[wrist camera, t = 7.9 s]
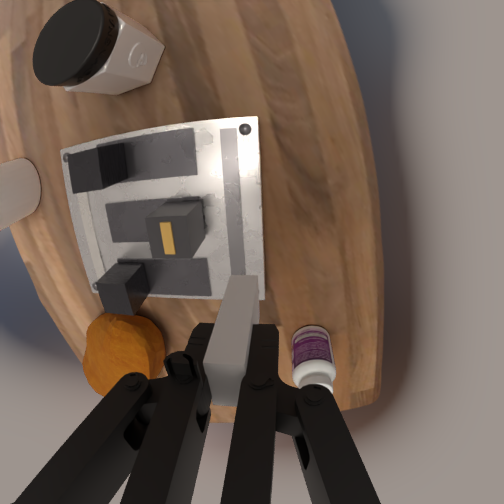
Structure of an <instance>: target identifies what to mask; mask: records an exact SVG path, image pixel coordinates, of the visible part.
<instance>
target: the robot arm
mask: <svg viewBox="0 0 504 504" xmlns="http://www.w3.org/2000/svg"><path fill="white" fill-rule="evenodd" d="M259 316H260V313H259V289H258V275H230V278H229V281H228V284H227V287H226V291H225V294H224V297H223V300H222V303H221V306H220V309H219V313H218V316H217V319H216V322H215V324H214V323H199V324H198V325H197V326H196V327H195V328H194V329H193V331H192V333H191V336H190V338H189V341H188V345H187V346H186V349H185V351H177V352H174V353H171V354H170V355H168V356H167V357H166V358H165V359H164V361H163V362H164V365H165V368H166V371H167V374H168V376H167V377H163V378H157V379H148V378H147V377H146V375H144V374H143V373H140V372H130V373H128V374H125V375H124V376H123V377H122V378H121V379H120V380H119V381H118V382H117V383H116V384H115V385H114V386H113V388H112V389H111V390H110V391H109V392H108V393H107V394H106V396H105V397H104V398H103V399H102V400H101V401H100V403H99V404H98V405H97V406H96V407H95V408H94V409H93V410H92V412H91V413H90V414H89V415H88V416H87V418H85V420H84V421H83V422H82V423H81V424H80V425H79V426H78V428H77V429H76V430H75V431H74V432H73V433H72V435H71V436H70V437H69V438H68V439H67V440H66V442H65V443H64V444H63V445H62V446H61V447H60V449H59V450H58V451H57V452H56V453H55V454H54V456H53V457H52V458H51V459H50V460H49V461H48V463H47V464H46V465H45V466H44V467H43V469H42V470H41V471H40V472H39V473H38V475H37V476H36V477H35V478H34V479H33V480H32V482H31V483H30V484H29V485H28V486H27V488H26V489H25V490H24V491H23V492H22V494H21V495H20V496H19V497H18V498H17V500H16V501H15V502H14V503H12V504H109V502H110V501H111V499H112V498H113V497H114V495H115V494H116V493H117V491H118V490H119V488H120V487H121V485H122V484H123V483H124V481H125V480H126V478H127V477H128V476H129V474H130V473H131V474H130V477H129V479H128V482H127V485H126V488H125V491H124V494H123V497H122V499H121V502H120V504H191V500H192V496H193V491H194V487H195V483H196V478H197V474H198V469H199V465H200V461H201V456H202V451H203V447H204V443H205V438H206V434H207V429H208V426H209V421H210V417H211V410H210V403H211V399H212V402H213V405H222V406H236V407H237V410H236V416H235V422H234V428H233V433H232V439H231V445H230V451H229V457H228V463H227V469H226V474H225V480H224V486H223V491H222V497H221V503H220V504H271V492H272V479H273V465H274V464H273V463H274V450H275V432H276V431H277V432H281V433H284V434H288V435H291V436H292V438H293V441H294V445H295V448H296V452H297V455H298V459H299V462H300V465H301V469H302V472H303V475H304V478H305V481H306V485H307V488H308V491H309V495H310V498H311V501H312V504H381V503H380V501H379V498H378V496H377V494H376V491H375V489H374V487H373V484H372V482H371V480H370V478H369V475H368V473H367V471H366V469H365V466H364V464H363V462H362V459H361V457H360V455H359V453H358V450H357V448H356V446H355V444H354V441H353V439H352V437H351V435H350V432H349V430H348V428H347V426H346V423H345V421H344V419H343V417H342V414H341V412H340V410H339V408H338V405H337V403H336V401H335V399H334V397H333V394H332V393H331V391H330V390H329V389H328V388H327V387H325V386H323V385H320V384H308V385H306V386H303V387H302V388H300V389H299V388H295V387H292V386H289V385H287V384H285V383H284V382H283V381H282V380H281V379H280V378H279V376H278V356H279V331H278V329H277V328H276V326H275V324H259Z"/></svg>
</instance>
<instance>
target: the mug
mask: <svg viewBox="0 0 504 504" xmlns="http://www.w3.org/2000/svg"><path fill="white" fill-rule="evenodd" d="M40 196H41V184H40V179H39V175H38V173H37V170H36V168H35V167H34V165H33V164H32V163H31V162H30V161H29V160H27V159H25V158H19V159H15V160H12V161H8V162H5V163H2V164H0V231H1V230H3V229H4V228H6V227H8V226H10V225H12V224H13V223H15V222H17V221H19V220H21V219H23V218H24V217H26V216H28V215H30V214H32V213H33V212H34V211H35V210H36V208H37V206H38V204H39V201H40Z"/></svg>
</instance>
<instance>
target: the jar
mask: <svg viewBox="0 0 504 504" xmlns="http://www.w3.org/2000/svg"><path fill="white" fill-rule="evenodd" d="M164 48H165V46H164V45H163V44H162V43H161V42H160V41H159V40H158V39H157V38H156V37H155V36H154V35H153V34H152V33H151V32H150V31H149V30H148V29H147V28H145V27H144V26H143V25H141V24H140V23H138V22H137V21H135V20H133V19H132V18H130V17H128V16H127V15H125V14H123V13H121V12H120V11H118V10H116V9H114V8H113V7H111V6H109V5H107V4H105V3H104V2H98V1H96V0H74V1H72V2H70V3H68V4H66V5H65V6H63V7H62V8H60V9H59V10H58V11H57V12H56V13H55V14H54V15H53V16H52V17H51V18H50V19H49V20H48V22H47V23H46V24H45V26H44V28H43V29H42V31H41V33H40V35H39V37H38V39H37V42H36V45H35V48H34V53H33V69H34V72H35V75H36V77H37V78H38V80H39V81H40V82H41V83H43V84H45V85H49V86H63V88H64V89H65V90H66V91H72V92H88V93H100V94H110V95H119V94H121V93H124V92H126V91H129V90H132V89H135V88H137V87H140V86H143V85H146V84H149V83H150V82H151V80H152V78H153V75H154V73H155V70H156V67H157V65H158V62H159V60H160V58H161V55H162V53H163V50H164Z"/></svg>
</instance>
